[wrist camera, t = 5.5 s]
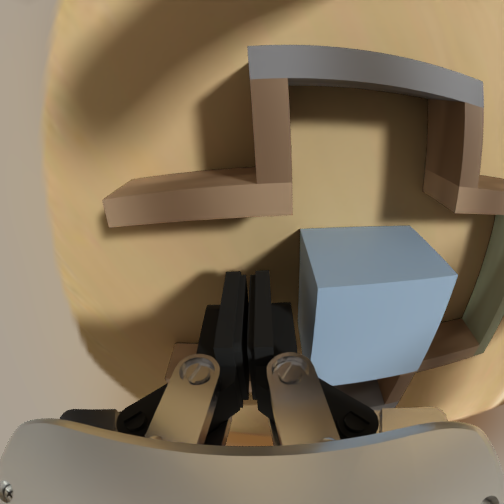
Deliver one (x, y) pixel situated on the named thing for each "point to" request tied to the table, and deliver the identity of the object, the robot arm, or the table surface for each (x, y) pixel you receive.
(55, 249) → the table surface
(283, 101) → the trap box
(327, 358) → the slate block
